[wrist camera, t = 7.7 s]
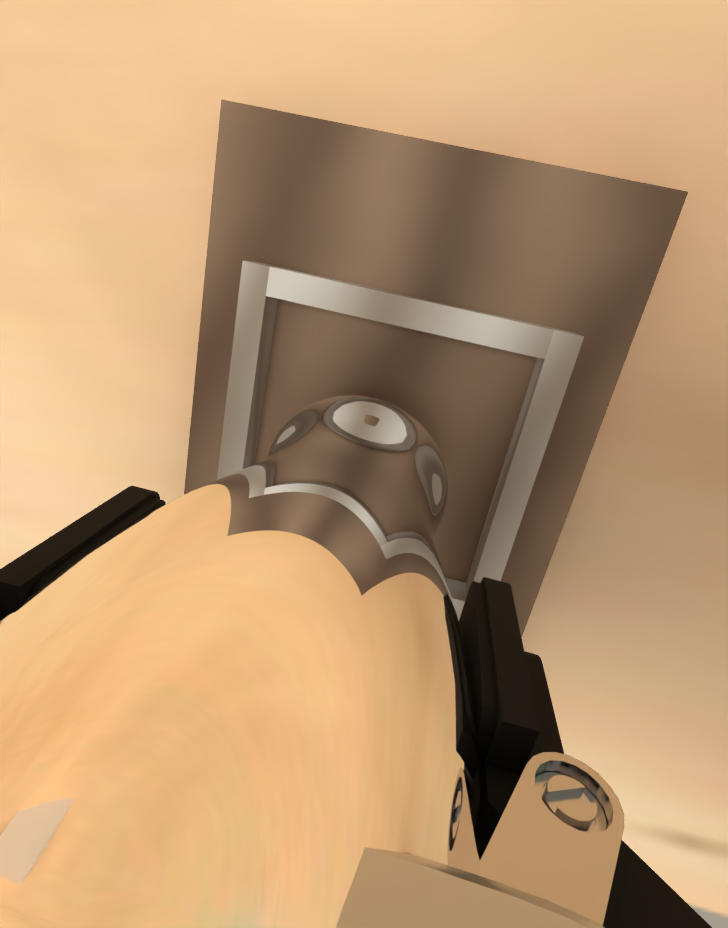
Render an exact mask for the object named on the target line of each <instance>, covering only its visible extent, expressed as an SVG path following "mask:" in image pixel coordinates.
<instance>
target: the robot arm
mask: <svg viewBox="0 0 728 928" xmlns="http://www.w3.org/2000/svg"><path fill="white" fill-rule="evenodd" d="M164 505H166V504H165V501H164V500H160V496H159V494H158V493H157V492H155V491H151V490H147V489H143V488H139V487H135V486H130V487H128V488H126V489H125V490H123V491H122V492H120V493H119V494H117V495H116V496H114V497H112V498H111V499H109V500H108V501H106V502H105V503H103V504H101V505H100V506H98V507H97V508H95V509H94V510H92V511H91V512H89V513H87V514H86V515H84V516H83V517H81V518H80V519H78V520H76V521H75V522H73V523H72V524H70V525H69V526H67V527H66V528H64V529H62V530H61V531H59V532H58V533H56V534H55V535H53V536H51V537H50V538H48V539H47V540H45V541H44V542H42V543H41V544H39V545H37V546H36V547H34V548H33V549H31V550H30V551H28V552H26V553H25V554H23V555H22V556H20V557H19V558H17V559H16V560H14V561H12V562H11V563H9V564H8V565H6V566H5V567H3V568H1V569H0V620H1V619H2V618H3V617H5V616H6V615H7V614H8V613H10V612H11V611H12V610H13V609H15V608H16V607H17V606H18V605H20V604H21V603H22V602H23V601H25V600H26V599H27V598H28V597H29V596H31V595H32V594H33V593H34V592H36V591H37V590H38V589H39V588H41V587H42V586H43V585H44V584H46V583H47V582H48V581H49V580H51V579H52V578H53V577H54V576H56V575H57V574H58V573H60V572H61V571H62V570H63V569H65V568H66V567H68V566H69V565H71V564H72V563H74V562H75V561H76V560H78V559H79V558H81V557H82V556H84V555H85V554H87V553H88V552H90V551H91V550H92V549H94V548H95V547H97V546H98V545H100V544H101V543H103V542H104V541H105V540H107V539H108V538H110V537H111V536H113V535H114V534H116V533H117V532H119V531H120V530H121V529H123V528H124V527H126V526H127V525H129V524H130V523H132V522H134V521H135V520H137V519H139V518H141V517H143V516H144V515H146V514H148V513H150V512H152V511H154V510H156V509H158V508H160V507H162V506H164ZM459 626H460V630H461V634H462V639H463V643H464V647H465V652H466V656H467V660H468V665H469V669H470V674H471V680H472V688H473V698H474V708H475V718H476V727H477V737H478V747H479V756H480V770H481V804H482V840H483V856H482V858H481V860H480V876H479V875H476V874H473V873H470V872H467V871H464V870H461V869H457V868H454V867H451V866H448V865H445V864H442V863H439V862H436V861H433V860H430V859H427V858H423V857H419V856H415V855H410V854H406V853H401V852H396V851H389V850H382V849H374V848H367V847H365V849H364V851H363V854H362V857H361V859H360V862H359V865H358V868H357V870H356V873H355V876H354V879H353V881H352V884H351V887H350V889H349V892H348V895H347V897H346V900H345V902H344V905H343V908H342V911H341V914H340V917H339V920H338V923H337V926H336V928H712V927H711V926H710V925H709V924H707V922H706V921H705V920H704V919H702V918H701V917H700V916H699V915H698V914H697V913H696V912H695V911H694V910H693V909H692V908H691V907H690V906H689V905H688V904H687V903H686V902H685V901H684V900H683V899H682V898H681V897H680V896H679V895H678V894H677V893H676V892H675V891H674V890H673V889H672V888H671V887H670V886H669V885H668V884H666V883H665V882H664V881H663V880H662V879H661V878H660V877H659V876H658V875H657V874H656V873H655V872H654V871H653V870H652V869H651V868H650V867H649V866H648V865H647V864H646V863H645V862H644V861H643V860H642V859H641V858H640V857H639V856H638V855H637V854H636V853H635V852H634V851H633V850H632V849H630V848H629V847H628V846H627V845H626V844H625V843H624V842H623V841H622V840H621V839H622V835H623V830H624V813H623V810H622V807H621V804H620V801H619V799H618V798H617V796H616V794H615V793H614V791H613V790H612V788H611V787H610V785H609V784H608V783H607V782H606V781H605V780H604V779H603V778H602V777H601V776H600V775H599V774H598V773H597V772H596V771H594V770H593V769H592V768H590V767H589V766H587V765H586V764H585V763H583V762H581V761H579V760H577V759H575V758H573V757H571V756H568V755H565V754H564V752H563V747H562V743H561V739H560V735H559V731H558V727H557V723H556V718H555V714H554V710H553V706H552V702H551V698H550V693H549V689H548V685H547V681H546V677H545V673H544V668H543V664H542V661H541V658H540V657H539V656H538V655H536V654H532V653H528V652H524V649H523V644H522V639H521V633H520V628H519V623H518V618H517V613H516V608H515V603H514V598H513V593H512V588H511V585H510V584H509V583H506V582H502V581H498V580H494V579H490V578H487V577H483V578H482V580H481V583H479V582H475V581H472V583H471V585H470V588H469V591H468V594H467V597H466V600H465V603H464V606H463V610H462V613H461V616H460V619H459Z"/></svg>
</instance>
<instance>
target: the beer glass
mask: <svg viewBox="0 0 728 928" xmlns="http://www.w3.org/2000/svg"><path fill="white" fill-rule="evenodd" d="M447 497H448V479H447V473H446V468H445V465H444V461H443V458H442V456H441V453H440V451H439V449H438V447H437V445H436V443H435V442H434V440H433V438H432V437H431V435H430V434H429V433H428V432H427V430H426V429H425V428H424V427H423V426H422V425H421V424H420V423H419V422H418V421H417V420H416V419H415V418H414V417H412V416H411V415H410V414H408V413H407V412H405V411H404V410H402V409H400V408H399V407H397V406H395V405H393V404H391V403H388V402H386V401H383V400H380V399H376V398H372V397H367V396H358V395H343V396H335V397H330V398H326V399H323V400H320V401H317V402H315V403H312V404H310V405H308V406H306V407H305V408H303V409H302V410H300V411H299V412H297V413H296V414H295V415H293V416H292V417H291V418H290V419H289V420H288V421H287V422H286V423H285V424H284V425H283V426H282V428H281V429H280V430H279V432H278V433H277V435H276V436H275V438H274V440H273V442H272V444H271V446H270V448H269V451H268V453H267V456H266V459H265V460H264V461H262V462H260V463H258V464H255V465H253V466H250V467H248V468H245V469H243V470H240V471H237V472H235V473H233V474H230V475H228V476H225V477H223V478H221V479H218V480H216V481H214V482H211V483H209V484H206V485H204V486H202V487H199V488H197V489H195V490H193V491H191V492H189V493H187V494H185V495H183V496H181V497H179V498H177V499H175V500H173V501H171V502H169V503H168V504H166V505H164V506H162V507H160V508H158V509H156V510H154V511H152V512H150V513H148V514H146V515H144V516H143V517H141V518H139V519H137V520H135V521H134V522H132V523H130V524H129V525H127V526H126V527H124V528H123V529H121V530H120V531H119V532H117V533H116V534H114V535H113V536H111V537H110V538H108V539H107V540H105V541H104V542H103V543H101V544H100V545H98V546H97V547H95V548H94V549H92V550H91V551H90V552H88V553H87V554H85V555H84V556H82V557H81V558H79V559H78V560H76V561H75V562H74V563H72V564H71V565H69V566H68V567H66V568H65V569H63V570H62V571H61V572H60V573H58V574H57V575H56V576H54V577H53V578H52V579H51V580H49V581H48V582H47V583H46V584H44V585H43V586H42V587H41V588H39V589H38V590H37V591H36V592H34V593H33V594H32V595H31V596H29V597H28V598H27V599H26V600H25V601H23V602H22V603H21V604H20V605H18V606H17V607H16V608H15V609H13V610H12V611H11V612H10V613H8V614H7V615H6V616H5V617H3V618H2V619H1V620H0V928H336V926H337V923H338V920H339V917H340V914H341V911H342V908H343V905H344V902H345V900H346V897H347V895H348V892H349V889H350V887H351V884H352V881H353V879H354V876H355V873H356V870H357V868H358V865H359V862H360V859H361V857H362V854H363V851H364V849H365V847H367V848H374V849H382V850H389V851H396V852H401V853H406V854H410V855H415V856H419V857H423V858H427V859H430V860H433V861H436V862H439V863H442V864H445V865H448V866H451V867H454V868H457V869H461V870H464V871H467V872H470V873H473V874H476V875H479V876H480V860H481V858H482V856H483V840H482V804H481V770H480V756H479V747H478V737H477V727H476V718H475V708H474V698H473V688H472V680H471V674H470V669H469V665H468V660H467V656H466V652H465V647H464V643H463V639H462V634H461V630H460V626H459V621H458V617H457V613H456V609H455V606H454V603H453V600H452V596H451V593H450V590H449V587H448V584H447V581H446V578H445V574H444V571H443V568H442V565H441V563H440V560H439V557H438V554H437V551H436V548H435V546H434V542H433V537H434V535H435V533H436V531H437V529H438V527H439V525H440V523H441V520H442V518H443V515H444V512H445V508H446V503H447Z"/></svg>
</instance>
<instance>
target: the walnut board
mask: <svg viewBox="0 0 728 928" xmlns="http://www.w3.org/2000/svg"><path fill="white" fill-rule="evenodd" d="M687 194H688V192H686V191H681V190H676V189H671V188H666V187H661V186H656V185H651V184H645V183H640V182H635V181H630V180H625V179H620V178H615V177H610V176H605V175H600V174H595V173H590V172H585V171H580V170H575V169H570V168H565V167H560V166H555V165H549V164H544V163H539V162H534V161H529V160H524V159H519V158H514V157H509V156H504V155H499V154H494V153H489V152H484V151H479V150H474V149H469V148H464V147H458V146H453V145H448V144H443V143H438V142H433V141H428V140H423V139H418V138H413V137H408V136H403V135H398V134H393V133H388V132H383V131H378V130H373V129H367V128H362V127H357V126H352V125H347V124H342V123H337V122H332V121H327V120H322V119H317V118H312V117H307V116H302V115H297V114H292V113H287V112H282V111H277V110H271V109H266V108H261V107H256V106H251V105H246V104H241V103H236V102H231V101H226V100H221V111H220V121H219V132H218V143H217V153H216V164H215V174H214V185H213V195H212V206H211V216H210V227H209V238H208V248H207V259H206V269H205V280H204V290H203V301H202V311H201V322H200V333H199V343H198V354H197V364H196V375H195V385H194V396H193V407H192V417H191V428H190V438H189V449H188V459H187V470H186V480H185V491H184V495H185V494H187V493H189V492H191V491H193V490H195V489H197V488H199V487H202V486H204V485H206V484H209V483H211V482H214V481H216V480H218V479H221V478H223V477H225V476H228V475H230V474H233V473H235V472H237V471H240V470H243V469H245V468H248V467H250V466H253V465H255V464H258V463H260V462H262V461H264V460H265V459H266V456H267V453H268V451H269V448H270V446H271V444H272V442H273V440H274V438H275V436H276V435H277V433H278V432H279V430H280V429H281V428H282V426H283V425H284V424H285V423H286V422H287V421H288V420H289V419H290V418H291V417H292V416H293V415H295V414H296V413H297V412H299V411H300V410H302V409H303V408H305V407H306V406H308V405H310V404H312V403H315V402H317V401H320V400H323V399H326V398H330V397H335V396H343V395H358V396H367V397H372V398H376V399H380V400H383V401H386V402H388V403H391V404H393V405H395V406H397V407H399V408H400V409H402V410H404V411H405V412H407V413H408V414H410V415H411V416H412V417H414V418H415V419H416V420H417V421H418V422H419V423H420V424H421V425H422V426H423V427H424V428H425V429H426V430H427V432H428V433H429V434H430V435H431V437H432V438H433V440H434V442H435V443H436V445H437V447H438V449H439V451H440V453H441V456H442V458H443V461H444V465H445V468H446V473H447V479H448V497H447V503H446V508H445V512H444V515H443V518H442V520H441V523H440V525H439V527H438V529H437V531H436V533H435V535H434V537H433V542H434V546H435V548H436V551H437V554H438V557H439V560H440V563H441V565H442V568H443V571H444V574H445V578H446V581H447V584H448V587H449V590H450V593H451V596H452V600H453V603H454V606H455V609H456V613H457V617H458V621H459V619H460V616H461V613H462V610H463V606H464V603H465V600H466V597H467V594H468V591H469V588H470V585H471V583H472V581H475V582H479V583H481V580H482V578H483V577H487V578H490V579H494V580H498V581H502V582H506V583H509V584H510V585H511V588H512V593H513V598H514V603H515V608H516V613H517V618H518V623H519V628H520V633H521V637H522V634H523V632H524V629H525V626H526V624H527V621H528V618H529V616H530V613H531V610H532V607H533V605H534V602H535V599H536V597H537V594H538V591H539V589H540V586H541V583H542V581H543V578H544V575H545V573H546V570H547V567H548V565H549V562H550V559H551V557H552V554H553V551H554V549H555V546H556V543H557V541H558V538H559V535H560V533H561V530H562V527H563V525H564V522H565V519H566V517H567V514H568V511H569V509H570V506H571V503H572V501H573V498H574V495H575V493H576V490H577V487H578V485H579V482H580V479H581V477H582V474H583V471H584V469H585V466H586V463H587V461H588V458H589V455H590V453H591V450H592V447H593V445H594V442H595V439H596V437H597V434H598V431H599V429H600V426H601V423H602V421H603V418H604V415H605V413H606V410H607V407H608V405H609V402H610V399H611V396H612V394H613V391H614V388H615V386H616V383H617V380H618V378H619V375H620V372H621V370H622V367H623V364H624V362H625V359H626V356H627V354H628V351H629V348H630V346H631V343H632V340H633V338H634V335H635V332H636V330H637V327H638V324H639V322H640V319H641V316H642V314H643V311H644V308H645V306H646V303H647V300H648V298H649V295H650V292H651V290H652V287H653V284H654V282H655V279H656V276H657V274H658V271H659V268H660V266H661V263H662V260H663V258H664V255H665V252H666V250H667V247H668V244H669V242H670V239H671V236H672V234H673V231H674V228H675V226H676V223H677V220H678V218H679V215H680V212H681V210H682V207H683V204H684V202H685V199H686V196H687Z"/></svg>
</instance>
